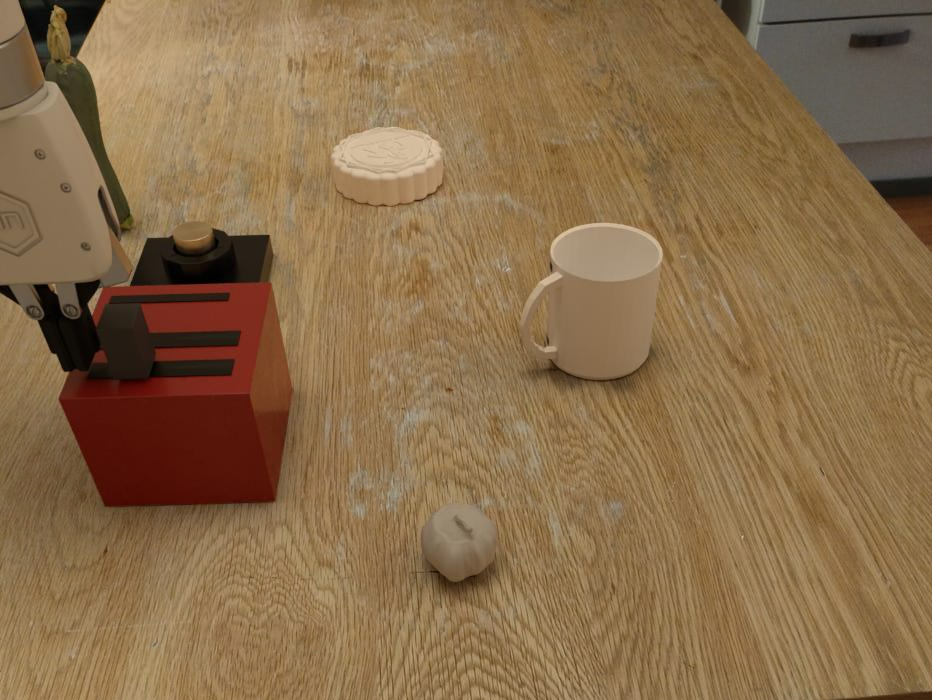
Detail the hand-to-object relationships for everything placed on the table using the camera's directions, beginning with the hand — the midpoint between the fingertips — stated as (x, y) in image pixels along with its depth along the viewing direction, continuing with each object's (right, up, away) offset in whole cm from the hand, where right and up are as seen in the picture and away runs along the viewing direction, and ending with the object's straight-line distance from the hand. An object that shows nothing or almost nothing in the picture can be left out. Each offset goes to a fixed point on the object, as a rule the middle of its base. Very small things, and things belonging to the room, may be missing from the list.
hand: (81, 359), depth 66 cm
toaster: (+5, -4, +11) cm, 13 cm away
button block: (+1, +15, +26) cm, 30 cm away
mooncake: (+18, +31, +39) cm, 53 cm away
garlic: (+26, -14, +3) cm, 30 cm away
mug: (+36, +6, +18) cm, 41 cm away
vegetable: (-10, +23, +33) cm, 42 cm away
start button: (+1, +17, +23) cm, 29 cm away
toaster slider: (+4, 0, +1) cm, 4 cm away
